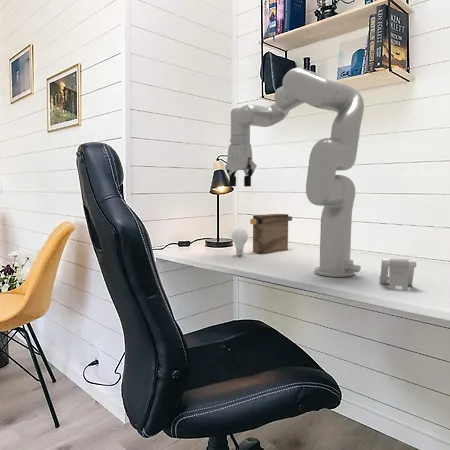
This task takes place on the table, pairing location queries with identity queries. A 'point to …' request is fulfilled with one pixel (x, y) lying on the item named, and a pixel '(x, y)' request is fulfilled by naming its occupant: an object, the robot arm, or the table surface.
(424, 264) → the table surface
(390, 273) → the portable electronic device stand
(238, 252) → the lightbulb
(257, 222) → the bar
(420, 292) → the table surface
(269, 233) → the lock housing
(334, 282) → the table surface
